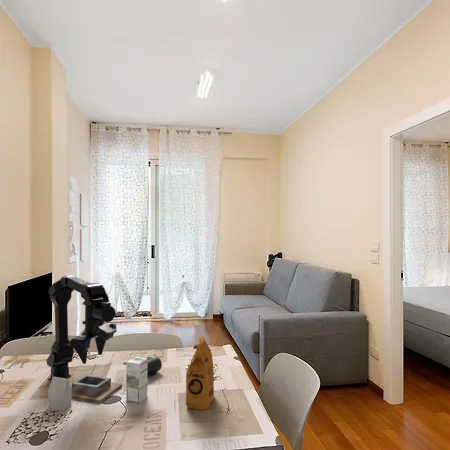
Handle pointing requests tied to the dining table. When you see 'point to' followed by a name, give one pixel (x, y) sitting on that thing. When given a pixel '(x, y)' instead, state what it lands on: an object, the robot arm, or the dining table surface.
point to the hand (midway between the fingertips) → (92, 359)
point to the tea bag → (59, 394)
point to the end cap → (153, 365)
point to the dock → (93, 388)
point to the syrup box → (136, 379)
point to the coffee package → (200, 378)
